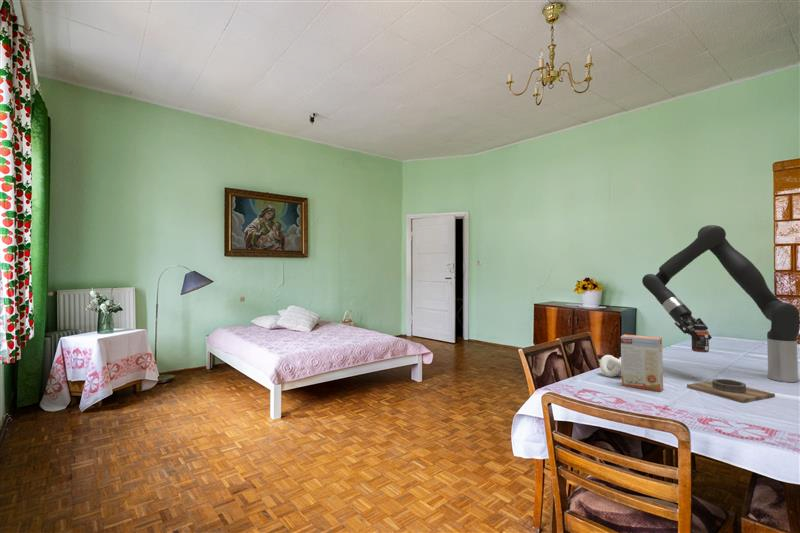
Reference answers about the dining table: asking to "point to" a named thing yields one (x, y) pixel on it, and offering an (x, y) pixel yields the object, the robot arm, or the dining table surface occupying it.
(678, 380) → the dining table surface
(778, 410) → the dining table surface
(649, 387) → the cracker box
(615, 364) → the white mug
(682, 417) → the dining table surface
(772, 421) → the dining table surface
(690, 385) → the collar plate
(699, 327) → the supplement bottle
